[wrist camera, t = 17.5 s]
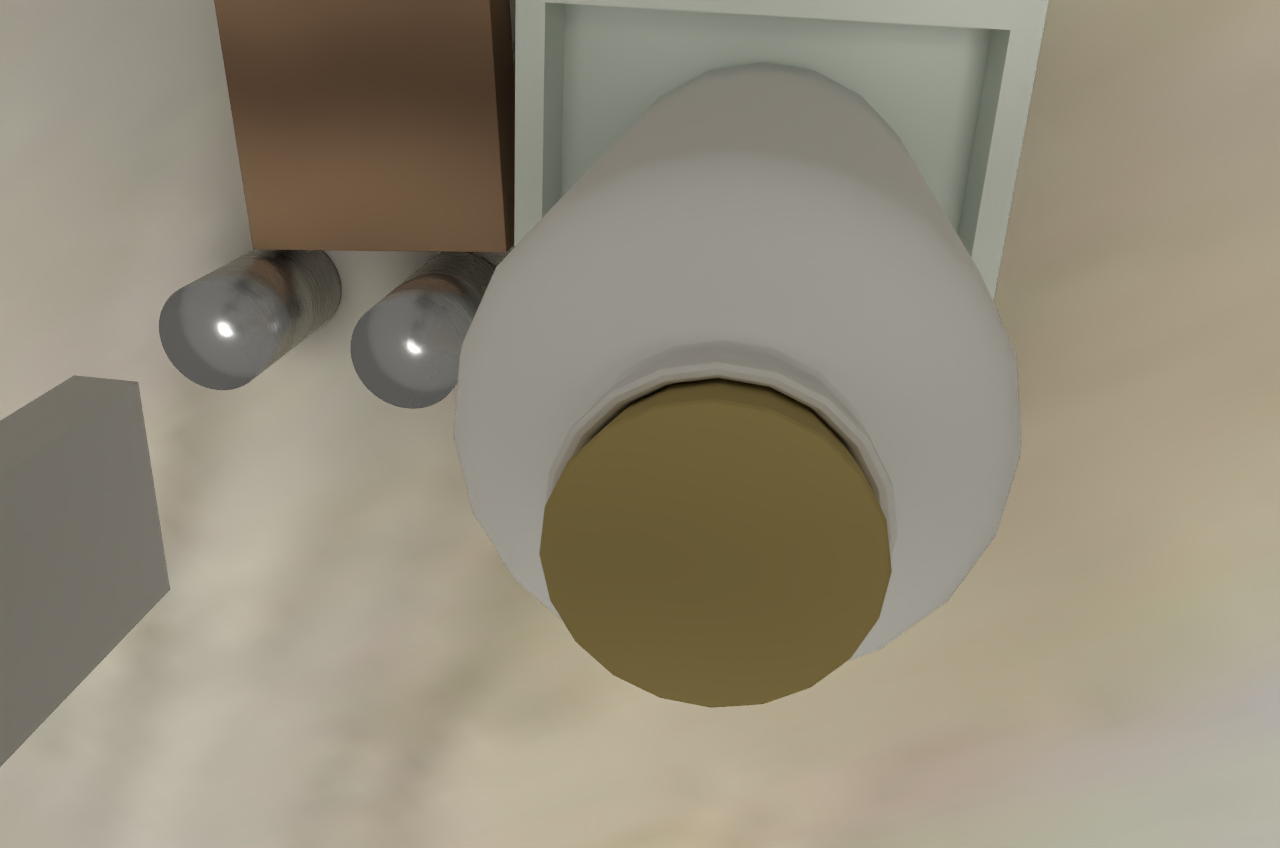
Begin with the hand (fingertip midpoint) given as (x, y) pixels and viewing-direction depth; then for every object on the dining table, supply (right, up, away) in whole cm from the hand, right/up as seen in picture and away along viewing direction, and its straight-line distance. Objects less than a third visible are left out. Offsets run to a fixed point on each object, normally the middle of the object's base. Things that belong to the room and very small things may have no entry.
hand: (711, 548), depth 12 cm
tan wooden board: (-8, +12, +18) cm, 22 cm away
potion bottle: (+2, +7, +17) cm, 19 cm away
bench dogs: (-8, +5, +20) cm, 22 cm away
